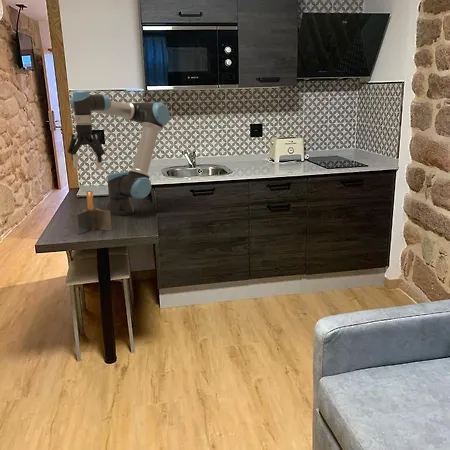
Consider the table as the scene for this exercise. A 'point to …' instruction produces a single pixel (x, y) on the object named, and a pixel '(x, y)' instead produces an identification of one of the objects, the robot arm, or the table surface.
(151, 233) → the table surface
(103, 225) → the hinge
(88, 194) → the hinge pin
